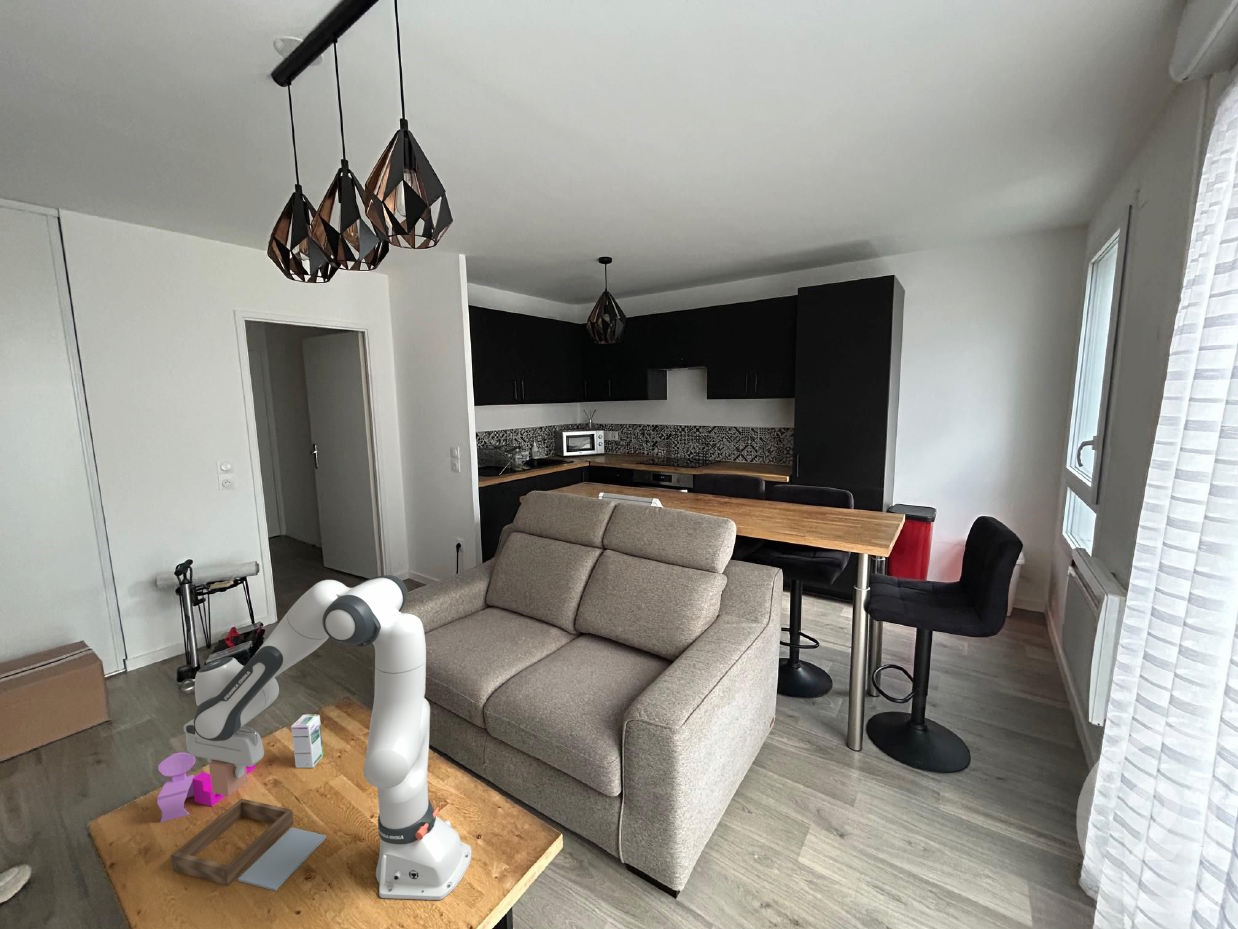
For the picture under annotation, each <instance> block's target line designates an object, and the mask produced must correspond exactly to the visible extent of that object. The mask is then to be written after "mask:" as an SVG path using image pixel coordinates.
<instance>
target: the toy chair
mask: <svg viewBox="0 0 1238 929" xmlns="http://www.w3.org/2000/svg"><path fill="white" fill-rule="evenodd" d="M195 763H196V756H192V755H191V754H190V753H189V752H176V753H173V754H171V755H169V756H168V757H166V758H164V759H163V760H162V761H161V762H160V763H159V764H158V767H157V769H158V772H160V774H162V775H163V776H164V777H171V779H170V780H166V781H165V783H164V785H163V786H162V789H161V790H160V792H159V793H158V795H157V797H156V799H157V801H156V803H157V806H158V807H159V809H160V811H161V819H160V822H159V823H164V822H167V821H170V820H174V819H179V818H181V817H186V816H188V815H190V812H188V811H187V809H186V808H185V801H186V799H188V798H191V797H195V795H194V787H193V778H194V777H196V775H195V774H191V775H187V772H188V771H191V768H192V767H193V766H195Z"/></svg>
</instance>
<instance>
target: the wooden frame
mask: <svg viewBox="0 0 1238 929" xmlns="http://www.w3.org/2000/svg"><path fill="white" fill-rule="evenodd" d="M293 814H294V813H293V809H290V808H285V807H281V806H279V805H278V806H276V805H272V804H268V803H263V802H258V801H254V800H249V799H246V798H241V799H239V800H238V801H237V802H235V803H234V804H233V805H232V806H230V807H229V808H228V809H227V810H226V811H224V812H223V813H222V814H220V815H219V816H218V817H216V819H214V820H213V821H212V822H210V823H209V824H208V825H207V826H205V827H204V828H203V829H202V830H200V831H199V832H198V833H197V834H196V835H194V836H193V837H192V838H191V839H189V840H188V841H186V843H184V844H183V845H182V846H180V847H179V848H178V849H177V850H175V851H174V852H173V853H171V855H170V857H171V865H172V871H173V872H176V873H181V874H184V875H187V874H189V875H188V876H192V877H195V878H199V879H203V880H206V881H210V882H212V883H213V882H214V883H217V884H220V885H225V886H227V887H228V886H230V885H231V884H232V883H233V882H234V881H235V880H237V879H238V878H239V877H240V876H241V875H242V874H243V873H244V872H245V871H247V870H248V869H249V868H250V867H251V866H252V865H253V864H254V863H255V862H256V861H257V860H258V859H259V858H260V857H261V856H262V855H263V854H264V853H265V852H266V851H267V850H268V849H270V848H271V847H272V846H273V845H274V844H275V843H276V842H277V841H278V840H279V839H280V838H281V837H282V836H283V835H284V834H285V833H286V832H287V831H288V830H289V829H290V828H292V827H293V826H294V816H293ZM243 817H244V818H247V819H252V820H257V821H261V822H265V823H269V824H271V825H270V826H268V827H267V829H265V830H264V831H263V832H262V833H261V834H260V835H259V836H258V837H257V838H256V839H254V840H253V841H252V842H251V843H250V844H249V845H248V846H247V847H245V849H243V850H242V851H241V852H240V853H239V854H238V855H237V856H236V857H235V858H233V859H232V860H231V861H230V862H229V863H228V864H225V863H221V862H218V861H213V860H209V859H207V858H206V859H205V858H202V857H198V856H197V855H198V854H199V853H201V852H202V851H203V850H204V849H205V848H207V847H208V846H209V845H210V844H211V843H213V842H214V841H215V840H216V839H217V838H218V837H220V836H221V835H222V834H223V833H225V832H226V831H227V830H228V829H229V828H231V827H233V825H234V824H236V823H237V822H238V821H239V820H240V819H241V818H243Z"/></svg>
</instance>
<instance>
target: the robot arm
mask: <svg viewBox="0 0 1238 929" xmlns="http://www.w3.org/2000/svg"><path fill="white" fill-rule="evenodd" d="M408 595H409V593H408V588H407V586H406V584H405V582H404V581H403V580H402V579H401V578H399V577H397V576H395V575H393V574H385V575H384V574H383V575H377V576H375V577H372V578H369V579H366V580H363V581H360V582H359V583H358V584H357V585H356V586H353V587H348V586H346V584H344V583H342V582H340V581H338V580H334V579H325V580H324V579H323V580H321V581H319V582H317V583H315V584H314V585H312V587H310V588H309V589H307V591H305V593H304V594H302V595H301V596H300V597H299V598H298V599H297V600H296V601H295V602H294V603H293V605H292V606H291V607H290V609H288V610H287V613H285V615H284V616H283V617H282V619H281V620H280V621H279V623H278V624H277V625H276V627H274V629H273V631H271V633H270V634H269V636H268V637H267V639H266V640H264V642H263V643H262V645H261V646H259V649H258V650H257V651H256V652H255V653H254V655H253V656H252V657H251V658H250V659H249V660H248V661H247V662H246V664H245V665H242V664H241V663H240V662H238V660H237V659H236V658H234V657H232V656H230V657H228V656H227V657H222V658H218V659H216V660H214V661H211V662H209V663H207V664H205V665H203V666H202V667H201V668H199V669H198V671H197V672H196V674H195V679H194V695H195V697H194V698H195V704H196V706H197V707H196V709H195V713H194V715H193V719H191V720H190V721H188V722H187V723H185V724H184V725H183V732H184V733H185V745H186V749H187V753H188V754H191V755H192V756H194V757H197V758H203V759H206V760H207V763H208V764H209V763H210V762H212V761H213V760H217V761H223V762H228V763H233V764H235V766H237V767H236V769H235V770H234V771H233V777H236V778H240V777H241V776H242V775H243V774H244V767H245V766H248V767H251V766H253V765H254V764H255V765H256V764H257V763H258V762H260V761H262V759H263V757H264V756H265V751H264V745H263V742H262V738H261V735H260V734H259V732H258V731H257V730H254V727H251V726H245V725H246V724H248V723H249V722H250V721H252V720H253V719H254V718H255V717H257V716H258V715H259V714H260V713H262V712H263V711H264V710H266V709H267V708H268V707H269V706H271V705H272V704H273V703H274V702H275V701H276V700H277V699H278V697H279V695H280V692H281V691H280V690H281V687H280V681H279V679H278V678H277V677H278V676H279V675H281V674H282V673H283V672H284V671H286V670H288V669H290V667H292V666H294V665H295V664H297V663H298V662H300V661H302V660H303V659H305V658H306V657H308V656H309V655H310V654H312V653H313V652H315V651H316V650H317V649H318V648H320V647H321V646H322V645H323V644H324V643H325V642H326V641H327V640H328V639H329V638H330V639H331V640H333V641H335V642H337V643H339V644H342V645H348V646H349V645H354V646H356V647H359V648H365V647H368V646H370V645H372V644H373V646H374V650H375V651H374V653H375V654H374V658H375V660H374V694H373V696H374V697H373V705H372V711H371V716H370V723H369V729H368V730H369V733H368V737H367V738H368V740H367V748H366V753H365V757H364V758H365V759H364V763H363V769H362V770H363V775H364V778H365V780H366V781H367V783H369V784H370V786H373V787H374V788H376V789H377V798H378V800H377V801H378V802H377V803H378V812H379V813H378V816H377V830H378V836H379V838H380V841H379V842H380V843H379V855H378V860H377V865H376V869H375V878H376V880H377V882H378V884H379V890H378V891H379V892H378V896H379V897H380V898H382V899H396V900H397V899H399V900H406V899H407V900H424V901H425V900H426V901H427V900H430V901H440V900H443V899H445V898H446V897H447V896H448V895H450V893H451V892H453V891H454V890H455V889H456V887H457V885H459V883H460V882H461V880H462V878H463V877H464V875H465V874H466V872H467V870H468V868H469V866H470V863H471V860H472V855H473V854H472V853H473V852H472V846H471V845H470V844H468V843H465V842H463V841H461V837H460V834H459V833H458V831H457V830H456V829H454V828H453V827H452V823H451V822H450V821H449V820H445V821H444V820H442V819H441V818H440V817H439V816H437V815H438V814H439V811H440V810H439V809H440V808H439V806H438V807H436V809H435V808H434V807H433V805H432V802H431V800H430V799H429V786H428V765H429V748H430V724H431V722H430V720H431V706H430V703H429V701H428V700H427V699H426V698H425V694H426V680H427V679H426V678H427V677H426V676H427V644H426V636H425V629H424V625H423V622H422V620H421V618H419V617H418V616H416V615H415V614H413V613H412V614H411V613H407V612H406V613H404V612H403V613H402V610H403V608H404V606H405V605H406V603H407V601H408ZM434 809H435V810H434Z"/></svg>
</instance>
